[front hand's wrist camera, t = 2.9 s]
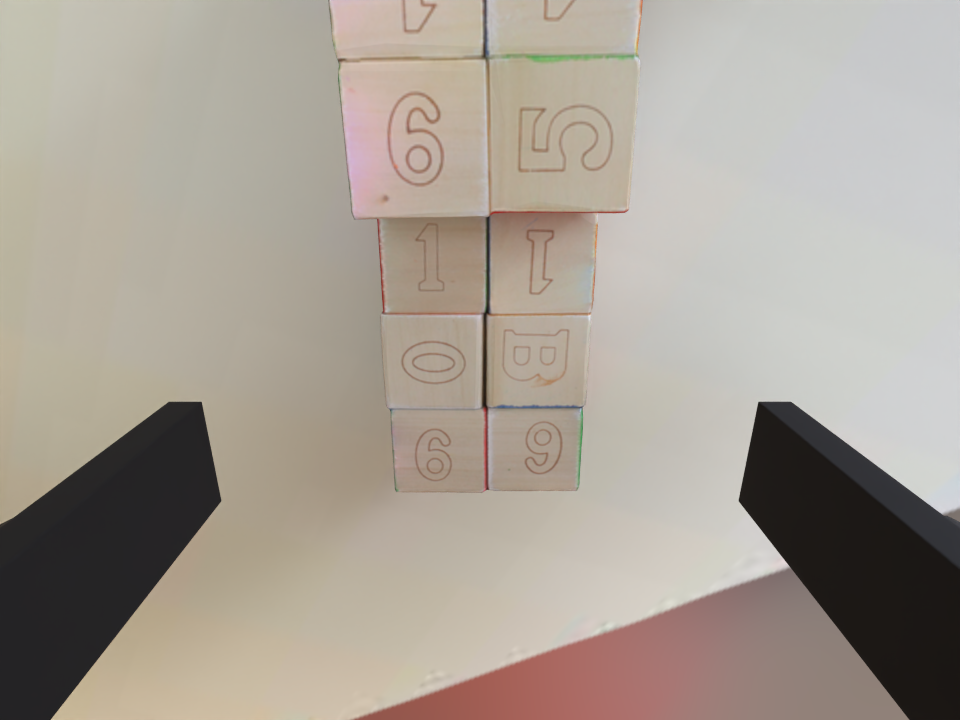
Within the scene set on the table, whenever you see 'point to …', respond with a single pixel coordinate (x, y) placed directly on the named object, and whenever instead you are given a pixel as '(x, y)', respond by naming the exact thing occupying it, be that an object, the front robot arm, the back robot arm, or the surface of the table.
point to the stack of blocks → (487, 219)
